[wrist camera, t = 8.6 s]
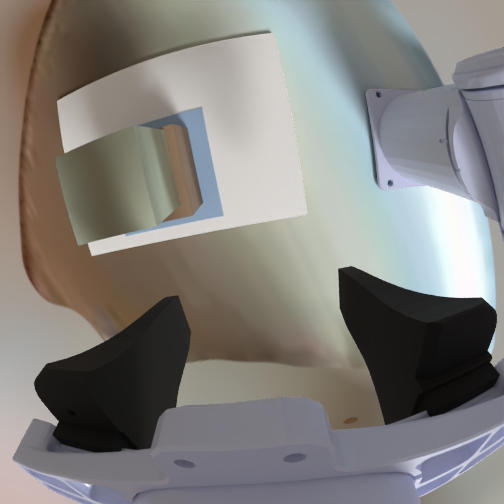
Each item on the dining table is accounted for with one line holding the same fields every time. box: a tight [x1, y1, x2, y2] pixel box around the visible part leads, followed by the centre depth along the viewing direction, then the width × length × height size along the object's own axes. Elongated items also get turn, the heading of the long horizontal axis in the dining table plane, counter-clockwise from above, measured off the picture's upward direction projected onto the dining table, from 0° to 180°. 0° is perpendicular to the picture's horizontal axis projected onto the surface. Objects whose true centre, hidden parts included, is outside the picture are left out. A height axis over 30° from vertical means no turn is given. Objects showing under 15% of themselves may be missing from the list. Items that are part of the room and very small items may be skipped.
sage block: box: [55, 125, 181, 245], centre depth 13 cm, size 4×4×4 cm
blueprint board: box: [57, 33, 308, 256], centre depth 19 cm, size 18×14×1 cm
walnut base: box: [157, 124, 203, 223], centre depth 17 cm, size 6×6×4 cm
